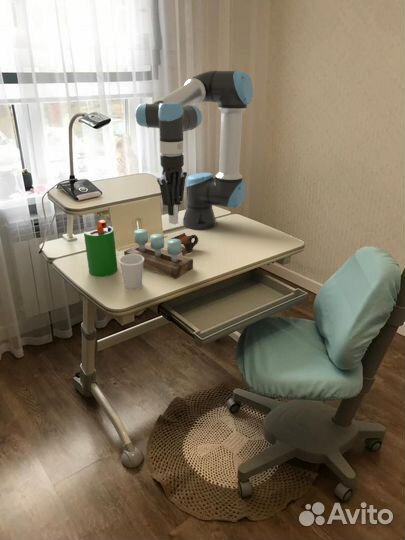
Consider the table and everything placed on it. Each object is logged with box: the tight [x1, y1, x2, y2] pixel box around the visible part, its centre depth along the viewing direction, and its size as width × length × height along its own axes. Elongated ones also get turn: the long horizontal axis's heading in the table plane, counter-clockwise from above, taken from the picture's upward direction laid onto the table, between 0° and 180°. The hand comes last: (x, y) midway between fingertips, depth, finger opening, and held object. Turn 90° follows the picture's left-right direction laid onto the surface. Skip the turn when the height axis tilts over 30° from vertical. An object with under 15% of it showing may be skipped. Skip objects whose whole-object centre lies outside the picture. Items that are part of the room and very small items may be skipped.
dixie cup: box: [118, 254, 144, 291], centre depth 146 cm, size 8×8×10 cm
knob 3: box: [166, 238, 182, 263], centre depth 155 cm, size 5×5×8 cm
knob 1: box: [133, 228, 149, 252], centre depth 163 cm, size 5×5×8 cm
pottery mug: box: [168, 232, 199, 256], centre depth 174 cm, size 12×10×8 cm
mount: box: [123, 243, 194, 280], centre depth 161 cm, size 10×25×4 cm, turn 54°
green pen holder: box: [83, 219, 119, 278], centre depth 153 cm, size 10×9×20 cm
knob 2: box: [149, 233, 165, 258], centre depth 159 cm, size 5×5×8 cm
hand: (173, 222), depth 150 cm, fingers closed
